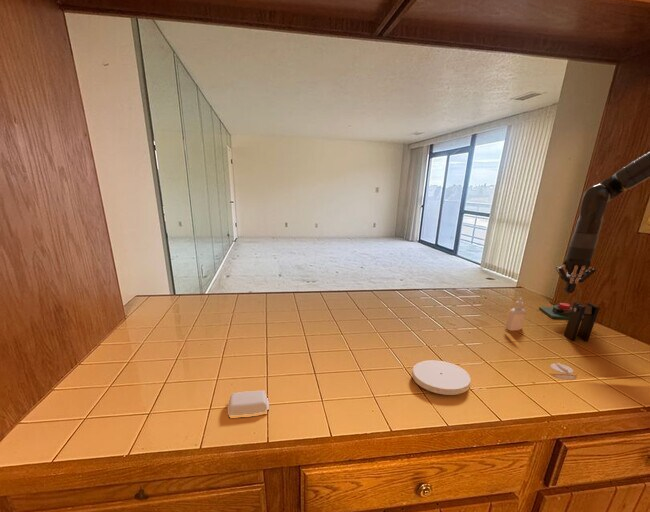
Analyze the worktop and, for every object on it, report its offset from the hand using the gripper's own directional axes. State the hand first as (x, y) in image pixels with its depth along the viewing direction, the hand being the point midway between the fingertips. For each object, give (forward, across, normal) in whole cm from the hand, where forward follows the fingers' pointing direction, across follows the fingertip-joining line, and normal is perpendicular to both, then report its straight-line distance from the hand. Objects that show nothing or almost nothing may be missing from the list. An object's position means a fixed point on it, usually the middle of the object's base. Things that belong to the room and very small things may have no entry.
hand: (568, 292), depth 128 cm
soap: (+9, -101, -69) cm, 122 cm away
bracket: (+10, -7, -22) cm, 25 cm away
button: (+6, 0, 0) cm, 6 cm away
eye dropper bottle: (+10, -24, -16) cm, 31 cm away
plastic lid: (+10, -56, -52) cm, 77 cm away
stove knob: (+10, -22, -43) cm, 50 cm away
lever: (+2, -7, -18) cm, 19 cm away
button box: (+10, 0, 0) cm, 10 cm away
